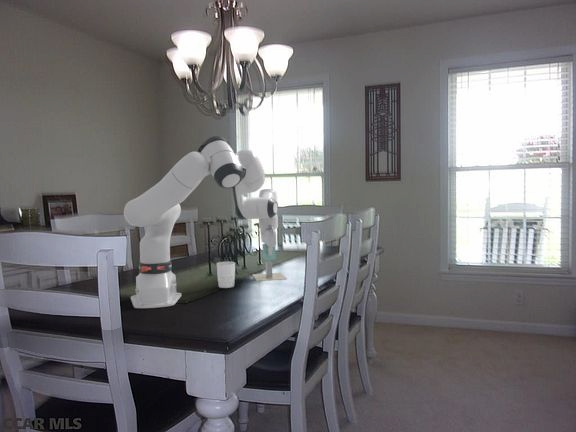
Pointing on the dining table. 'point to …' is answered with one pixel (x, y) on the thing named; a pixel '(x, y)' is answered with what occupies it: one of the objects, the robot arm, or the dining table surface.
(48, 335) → the dining table surface
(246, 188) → the robot arm
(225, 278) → the white cup
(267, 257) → the teal upright block
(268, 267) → the post
